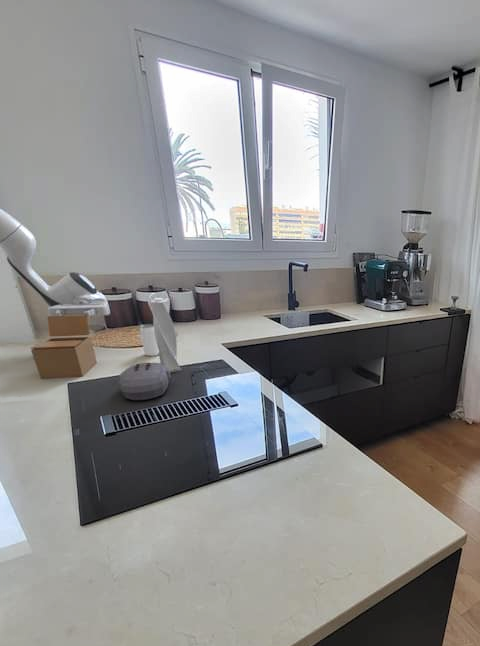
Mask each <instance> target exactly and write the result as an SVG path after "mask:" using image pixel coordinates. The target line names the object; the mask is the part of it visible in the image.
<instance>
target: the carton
mask: <svg viewBox="0 0 480 646" xmlns="http://www.w3.org/2000/svg"><path fill="white" fill-rule="evenodd" d="M30 349H31V350H30V351H31V354H32V357H33V360H34V363H35V366H36V369H37V372H38V375H39V378H40V380H44V379H61V378H63V379H64V378H78V377H79V378H80V377H84V376H85V375H87V373H88V372H89V371H91V369H92V368H93V367H94V366H96V364H97V363H98V362H97V361H98V360H97V358H96V354H95V350H94V346H93V342H92V339H91V336H69V337H51V338H48V339H47V340H45V341H39V342H38V343H36V344H35V345H34V344H33V346H30Z"/></svg>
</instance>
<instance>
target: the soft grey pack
mask: <svg viewBox="0 0 480 646" xmlns="http://www.w3.org/2000/svg"><path fill="white" fill-rule="evenodd" d="M171 377H172V376H171V373H170V372H169V370H168V368H167V367H165V366H164V365H162V364H161V363H160V362H141V363H135V364H132V365H130V366H128V367H127V368H126V369H124V370H123V371H122V372H121V373H120V374H119V376H118V379H119V388H120V391H121V393H122V395H123V397H124V398H125V399H126V400H131V401H145V400H146V401H147V400H150V399H155V398H157V397H160V396H162V395H164V394H165V392H166V390H167V389H168V387H169V383H170V382H169V380H170V379H171Z"/></svg>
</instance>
